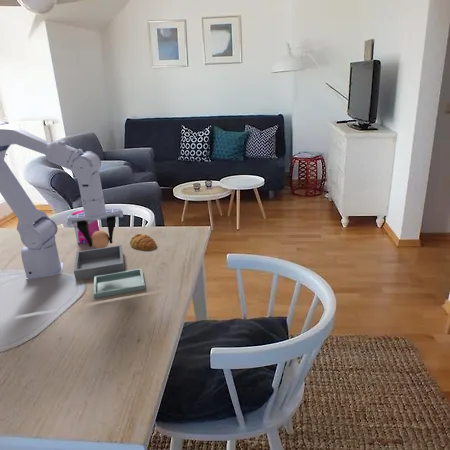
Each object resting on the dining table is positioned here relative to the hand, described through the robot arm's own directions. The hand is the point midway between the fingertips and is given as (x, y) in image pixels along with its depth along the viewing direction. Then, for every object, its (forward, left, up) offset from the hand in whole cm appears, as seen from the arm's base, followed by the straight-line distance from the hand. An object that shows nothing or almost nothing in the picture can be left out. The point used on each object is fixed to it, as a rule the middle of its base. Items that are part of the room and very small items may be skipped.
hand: (100, 243), depth 116 cm
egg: (0, 0, -1) cm, 1 cm away
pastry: (+12, +14, -10) cm, 21 cm away
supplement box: (-5, +25, -9) cm, 28 cm away
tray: (+4, -10, -9) cm, 14 cm away
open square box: (-1, +3, -9) cm, 10 cm away
